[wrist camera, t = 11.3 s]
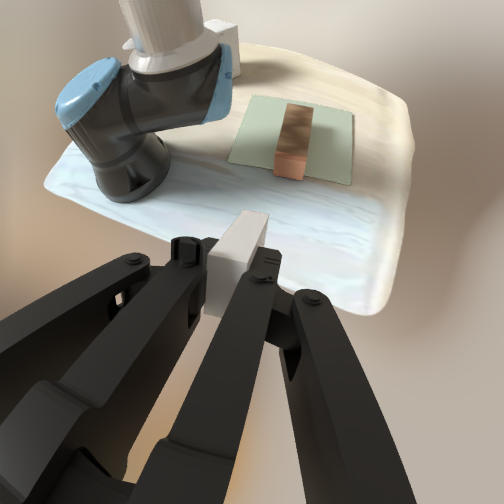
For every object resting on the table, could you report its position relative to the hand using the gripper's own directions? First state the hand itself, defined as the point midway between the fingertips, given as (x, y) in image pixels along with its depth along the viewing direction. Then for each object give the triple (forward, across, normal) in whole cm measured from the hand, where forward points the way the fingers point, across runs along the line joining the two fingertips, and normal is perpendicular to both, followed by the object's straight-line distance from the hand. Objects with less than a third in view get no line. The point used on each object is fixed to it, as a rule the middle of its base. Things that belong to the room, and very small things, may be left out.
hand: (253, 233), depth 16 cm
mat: (+40, +1, +7) cm, 41 cm away
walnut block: (+30, 0, +1) cm, 30 cm away
